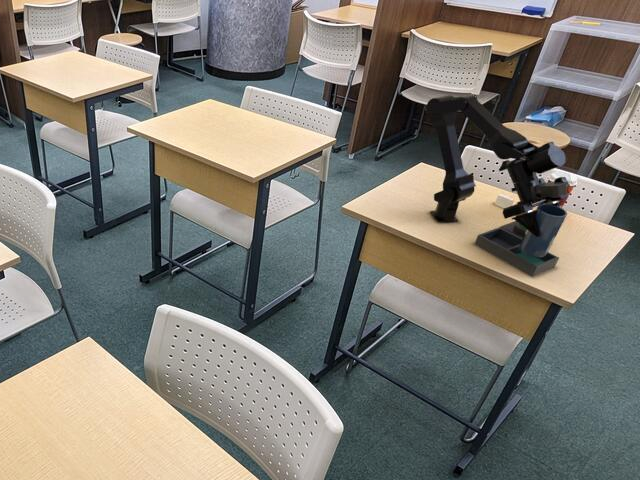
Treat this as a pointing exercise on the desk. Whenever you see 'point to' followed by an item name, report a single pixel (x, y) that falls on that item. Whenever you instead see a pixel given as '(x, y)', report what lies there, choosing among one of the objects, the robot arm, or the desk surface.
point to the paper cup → (570, 178)
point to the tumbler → (543, 231)
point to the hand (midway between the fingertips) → (547, 233)
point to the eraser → (503, 201)
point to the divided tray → (514, 251)
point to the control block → (515, 229)
